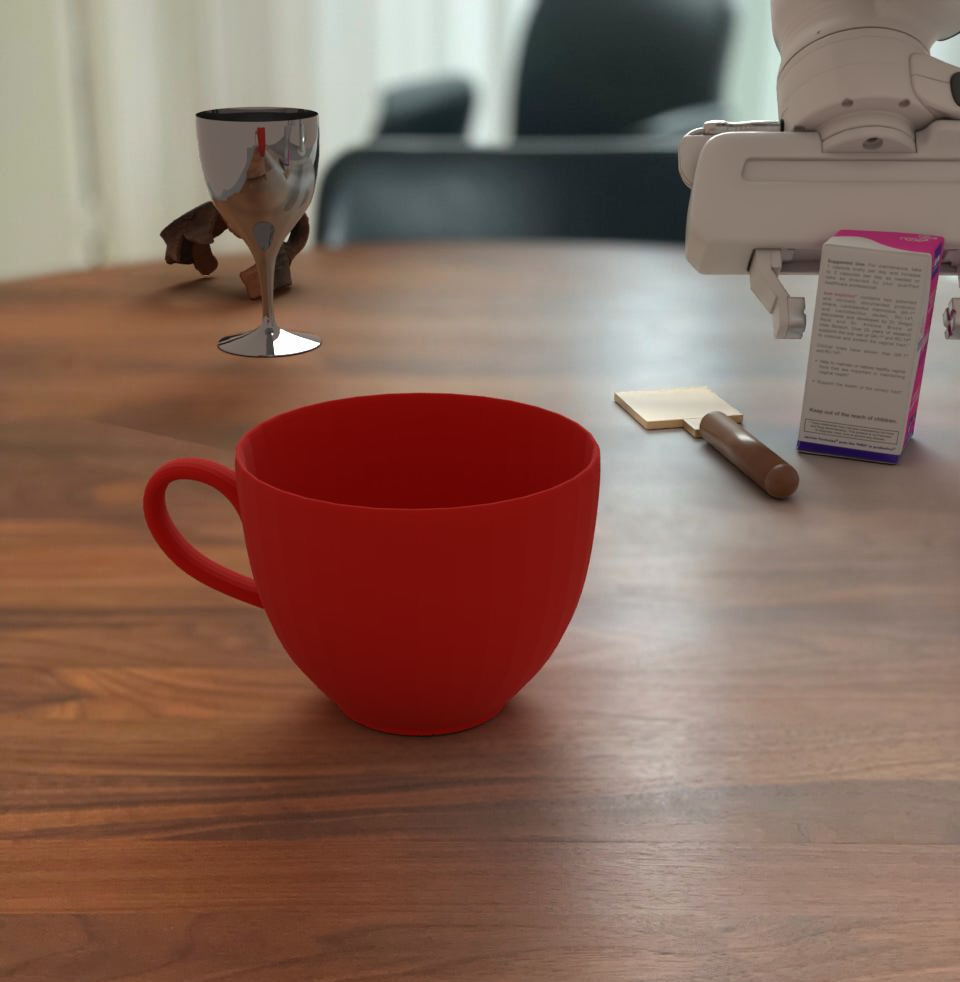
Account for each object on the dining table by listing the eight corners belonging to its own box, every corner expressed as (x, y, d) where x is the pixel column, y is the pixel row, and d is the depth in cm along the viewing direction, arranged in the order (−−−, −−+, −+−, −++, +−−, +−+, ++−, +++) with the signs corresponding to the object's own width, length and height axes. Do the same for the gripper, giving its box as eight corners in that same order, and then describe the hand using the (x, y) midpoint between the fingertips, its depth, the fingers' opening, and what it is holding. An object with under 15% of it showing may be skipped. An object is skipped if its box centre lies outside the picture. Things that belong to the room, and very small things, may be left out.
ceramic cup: (216, 604, 65) (198, 378, 60) (607, 634, 62) (617, 401, 58) (97, 754, 53) (63, 488, 49) (570, 799, 51) (580, 523, 46)
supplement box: (902, 466, 81) (931, 252, 76) (793, 452, 83) (815, 242, 78) (918, 435, 86) (946, 232, 81) (815, 422, 88) (836, 223, 83)
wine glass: (279, 364, 99) (266, 125, 92) (187, 346, 102) (168, 115, 96) (350, 338, 105) (343, 112, 98) (261, 322, 108) (248, 103, 102)
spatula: (613, 400, 92) (614, 371, 91) (705, 393, 93) (707, 365, 92) (731, 508, 75) (734, 474, 75) (841, 498, 77) (845, 465, 76)
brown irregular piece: (227, 314, 112) (171, 213, 111) (186, 344, 121) (133, 250, 119) (351, 252, 118) (299, 155, 116) (303, 284, 126) (254, 194, 124)
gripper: (683, 85, 83) (693, 302, 79) (1052, 86, 83) (1083, 304, 79) (670, 156, 89) (678, 362, 85) (1013, 157, 89) (1040, 363, 85)
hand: (876, 334), depth 82 cm, fingers open, 8 cm apart
